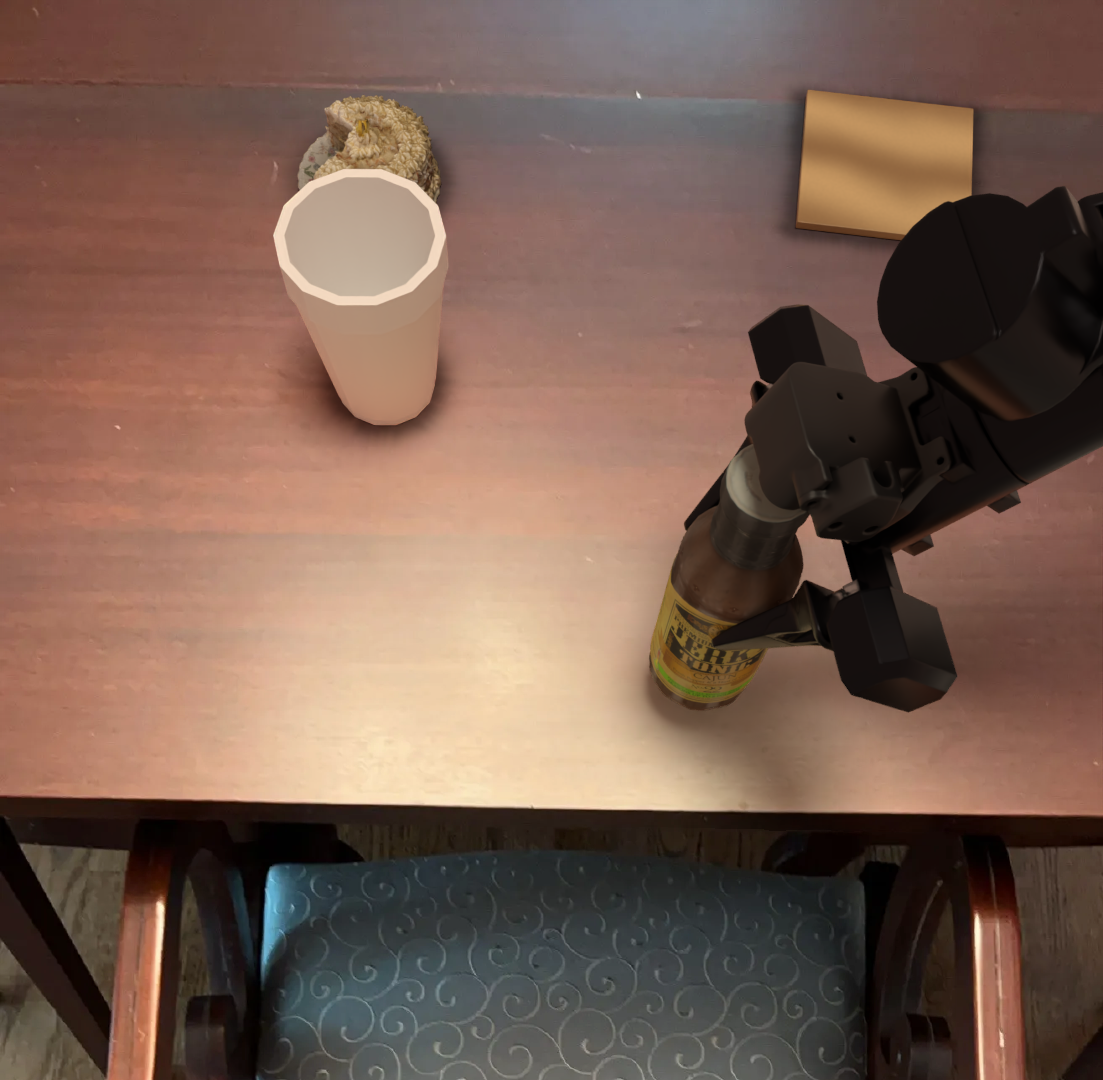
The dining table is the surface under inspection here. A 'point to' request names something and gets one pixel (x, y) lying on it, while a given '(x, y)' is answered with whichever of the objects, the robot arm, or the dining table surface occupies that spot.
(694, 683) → the sauce bottle
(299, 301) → the foam cup
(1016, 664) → the dining table surface
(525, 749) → the dining table surface
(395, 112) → the cake
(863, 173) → the cork mat
